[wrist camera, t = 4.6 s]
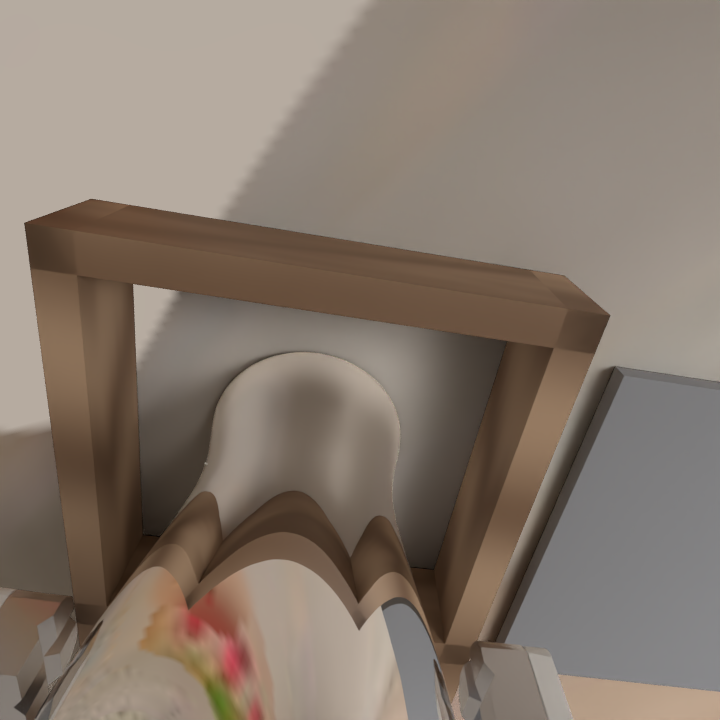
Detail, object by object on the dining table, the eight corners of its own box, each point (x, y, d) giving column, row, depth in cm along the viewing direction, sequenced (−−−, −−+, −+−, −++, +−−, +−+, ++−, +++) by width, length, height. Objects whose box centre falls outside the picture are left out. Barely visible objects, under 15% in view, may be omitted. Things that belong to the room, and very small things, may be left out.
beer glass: (383, 310, 15) (558, 2118, 2) (434, 490, 18) (644, 1634, 5) (164, 368, 16) (-923, 1836, 2) (248, 530, 19) (-35, 1586, 5)
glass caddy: (91, 199, 14) (24, 222, 11) (564, 275, 14) (610, 315, 12) (129, 729, 25) (101, 806, 22) (394, 755, 26) (398, 831, 23)
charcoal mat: (615, 366, 16) (624, 375, 15) (971, 420, 16) (991, 431, 16) (490, 653, 22) (493, 667, 21) (753, 682, 23) (762, 696, 22)
